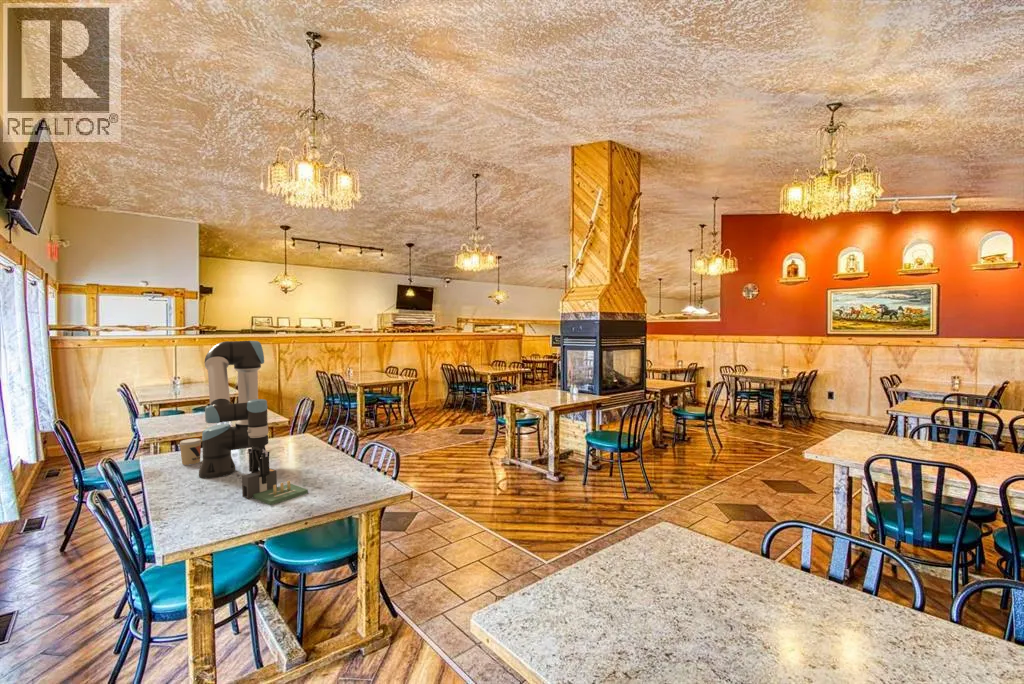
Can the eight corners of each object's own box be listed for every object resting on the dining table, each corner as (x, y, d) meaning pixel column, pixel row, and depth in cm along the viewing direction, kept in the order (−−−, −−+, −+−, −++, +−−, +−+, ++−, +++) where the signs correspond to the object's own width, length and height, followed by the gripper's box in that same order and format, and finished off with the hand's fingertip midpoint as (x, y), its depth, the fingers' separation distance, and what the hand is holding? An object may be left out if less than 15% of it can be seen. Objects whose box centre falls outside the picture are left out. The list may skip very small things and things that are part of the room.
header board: (253, 497, 191) (252, 484, 190) (290, 486, 204) (290, 474, 203) (270, 505, 183) (270, 491, 182) (307, 493, 196) (307, 480, 195)
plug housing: (242, 496, 192) (241, 475, 191) (271, 488, 202) (270, 468, 201) (248, 499, 189) (247, 477, 189) (277, 490, 199) (276, 470, 198)
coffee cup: (193, 465, 236) (193, 442, 236) (175, 465, 236) (175, 442, 236) (206, 460, 245) (205, 438, 245) (188, 460, 245) (188, 438, 245)
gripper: (238, 435, 197) (240, 488, 197) (259, 440, 186) (261, 496, 187) (256, 431, 203) (258, 483, 203) (278, 436, 193) (279, 491, 193)
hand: (259, 489), depth 195 cm, fingers open, 5 cm apart
